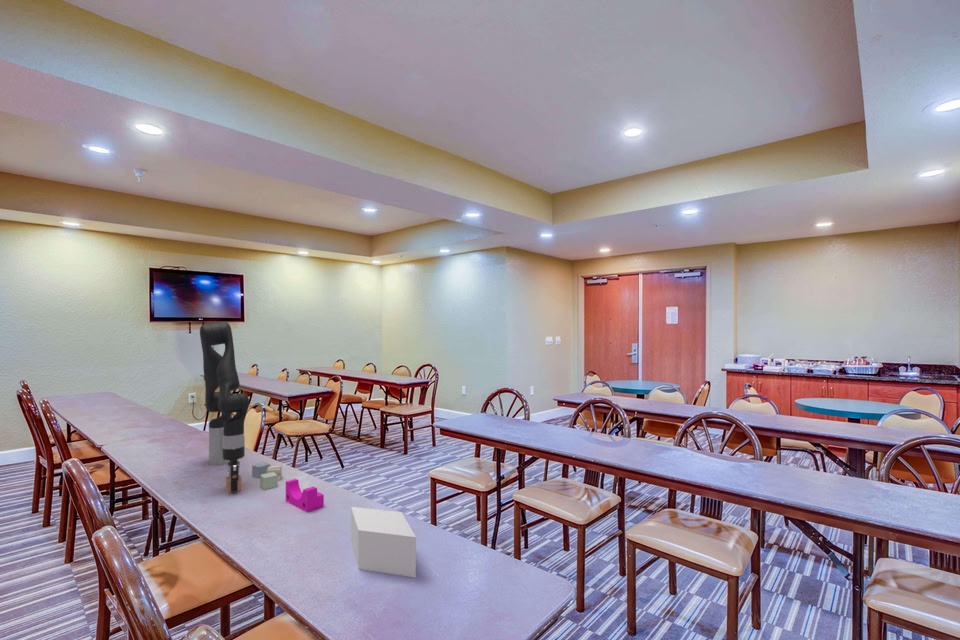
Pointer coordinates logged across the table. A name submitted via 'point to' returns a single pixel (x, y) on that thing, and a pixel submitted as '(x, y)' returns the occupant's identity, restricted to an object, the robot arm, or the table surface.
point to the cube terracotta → (228, 484)
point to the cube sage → (268, 481)
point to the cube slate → (259, 469)
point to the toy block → (303, 496)
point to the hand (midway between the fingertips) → (233, 487)
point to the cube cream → (276, 471)
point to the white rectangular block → (383, 541)
